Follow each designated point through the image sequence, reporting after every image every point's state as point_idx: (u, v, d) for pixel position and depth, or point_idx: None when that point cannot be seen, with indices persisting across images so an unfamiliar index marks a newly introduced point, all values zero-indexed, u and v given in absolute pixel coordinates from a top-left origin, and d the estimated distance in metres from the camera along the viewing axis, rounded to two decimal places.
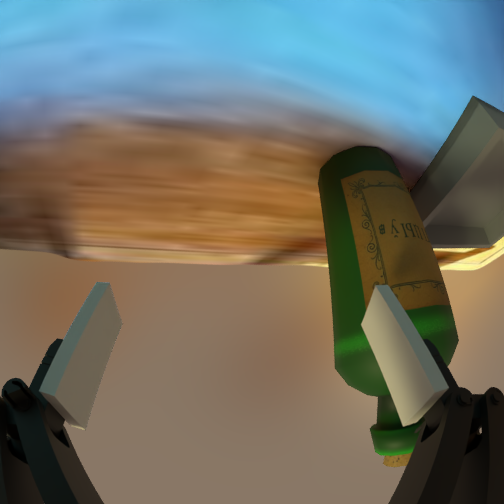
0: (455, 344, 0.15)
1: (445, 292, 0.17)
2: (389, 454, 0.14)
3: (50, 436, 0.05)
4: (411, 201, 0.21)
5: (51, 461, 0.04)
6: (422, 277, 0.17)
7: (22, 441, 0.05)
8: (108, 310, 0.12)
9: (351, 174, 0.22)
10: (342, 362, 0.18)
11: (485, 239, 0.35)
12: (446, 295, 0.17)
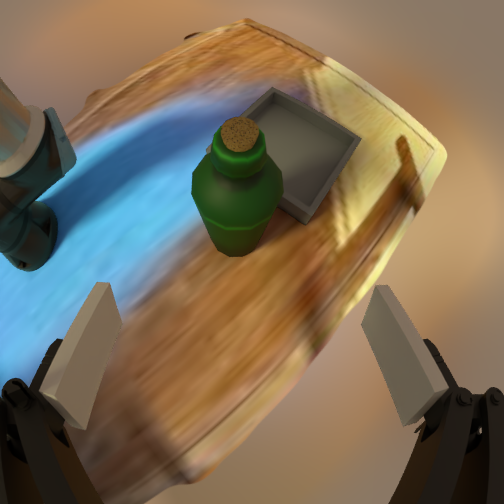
0: None
1: None
2: (215, 148, 0.23)
3: (50, 436, 0.05)
4: None
5: (51, 462, 0.04)
6: None
7: (22, 441, 0.05)
8: (108, 310, 0.12)
9: None
10: (204, 214, 0.30)
11: None
12: None
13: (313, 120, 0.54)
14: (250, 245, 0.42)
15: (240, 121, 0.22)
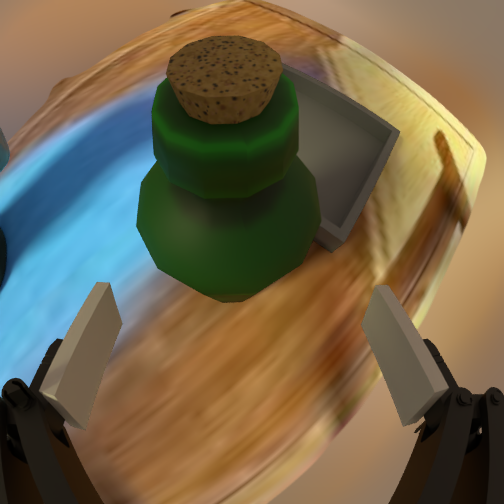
0: None
1: None
2: (154, 118, 0.07)
3: (50, 436, 0.05)
4: None
5: (51, 461, 0.04)
6: None
7: (22, 441, 0.05)
8: (108, 310, 0.12)
9: None
10: (160, 269, 0.14)
11: (388, 137, 0.36)
12: None
13: (336, 105, 0.38)
14: None
15: (227, 43, 0.07)
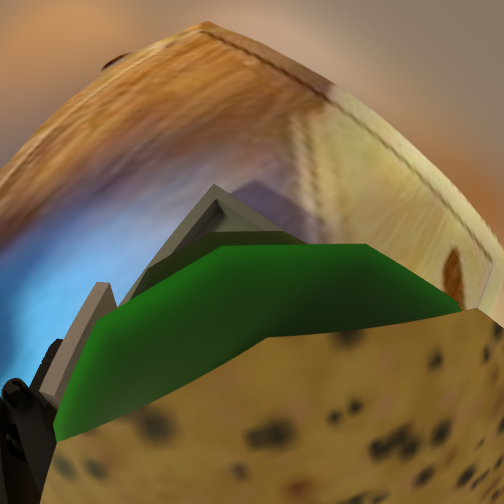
0: (200, 239, 0.10)
1: None
2: None
3: (50, 436, 0.05)
4: None
5: None
6: None
7: (22, 441, 0.05)
8: (108, 310, 0.12)
9: None
10: None
11: None
12: None
13: None
14: None
15: (406, 465, 0.01)
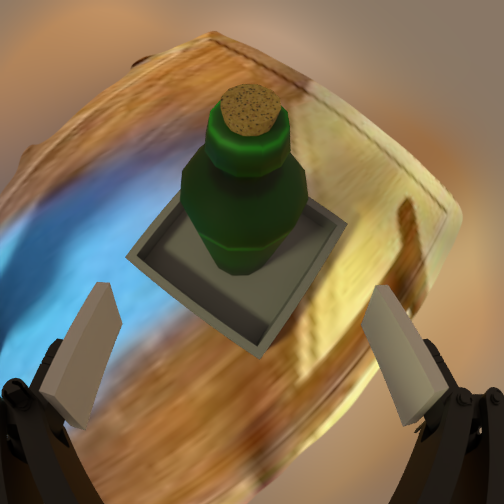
0: None
1: None
2: (211, 130, 0.14)
3: (50, 436, 0.05)
4: None
5: (51, 461, 0.04)
6: None
7: (22, 441, 0.05)
8: (108, 310, 0.12)
9: None
10: (197, 229, 0.21)
11: (332, 232, 0.39)
12: None
13: None
14: (258, 264, 0.33)
15: (251, 90, 0.13)
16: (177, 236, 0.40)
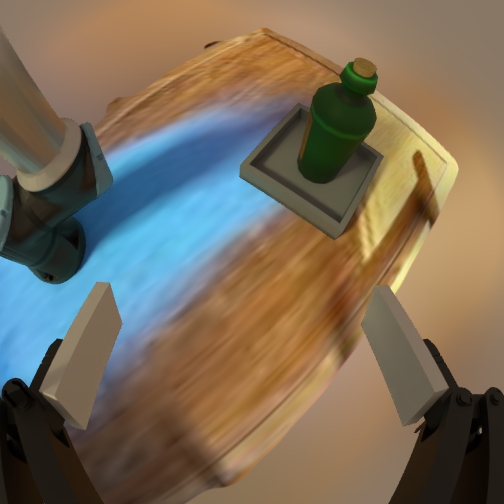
0: None
1: None
2: (350, 72, 0.29)
3: (50, 436, 0.05)
4: None
5: (51, 461, 0.04)
6: None
7: (22, 441, 0.05)
8: (108, 310, 0.12)
9: (299, 157, 0.51)
10: (327, 122, 0.36)
11: (374, 160, 0.54)
12: None
13: None
14: (339, 167, 0.48)
15: (364, 60, 0.28)
16: (272, 158, 0.55)
